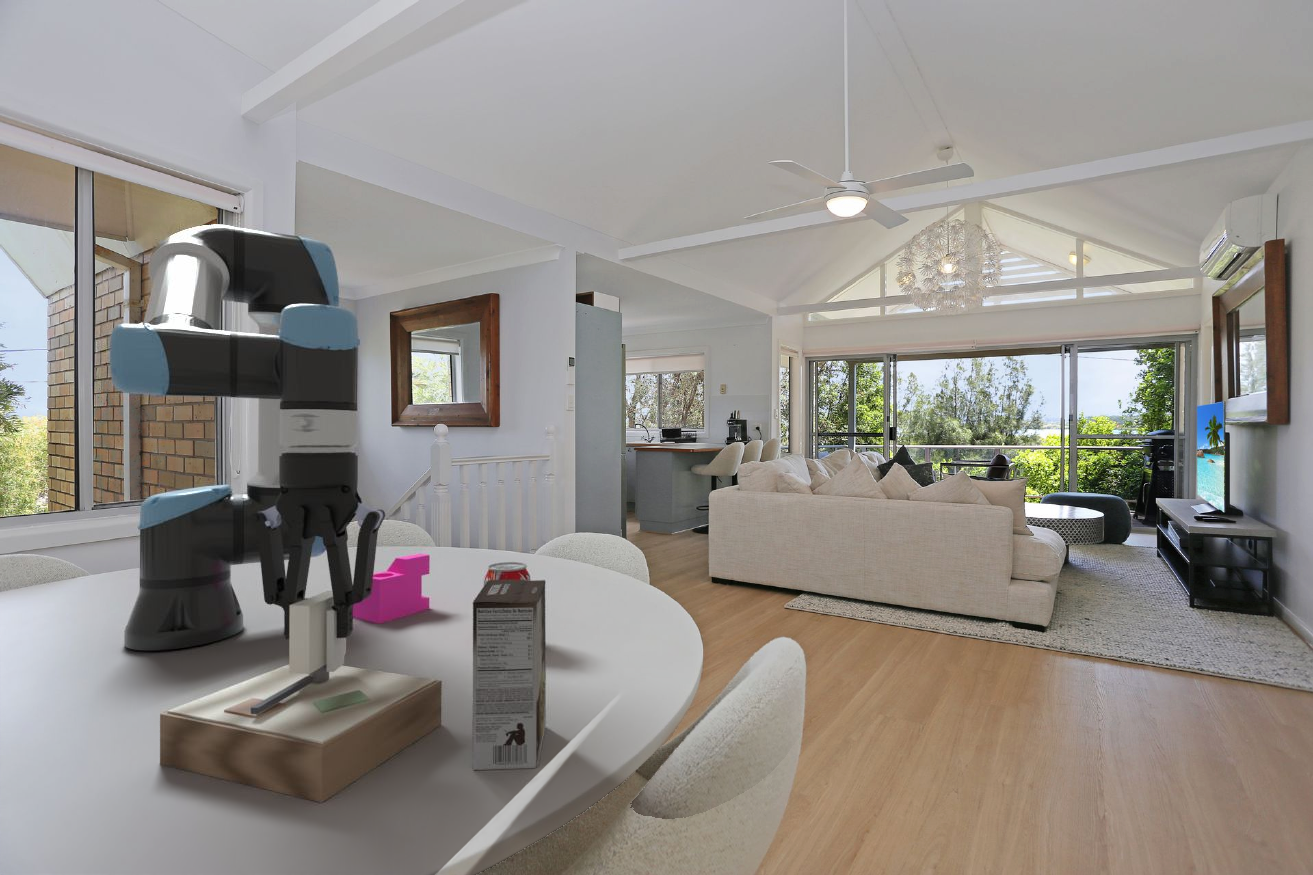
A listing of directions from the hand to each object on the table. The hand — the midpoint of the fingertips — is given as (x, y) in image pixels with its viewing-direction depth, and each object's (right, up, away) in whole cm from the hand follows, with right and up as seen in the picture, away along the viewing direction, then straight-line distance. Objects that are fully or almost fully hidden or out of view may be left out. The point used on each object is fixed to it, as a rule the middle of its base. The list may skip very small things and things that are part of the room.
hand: (318, 667), depth 69 cm
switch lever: (0, -1, -3) cm, 3 cm away
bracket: (-13, -7, +46) cm, 48 cm away
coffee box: (+22, -7, -4) cm, 23 cm away
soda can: (+14, -7, +28) cm, 32 cm away
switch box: (+1, -7, -3) cm, 7 cm away
